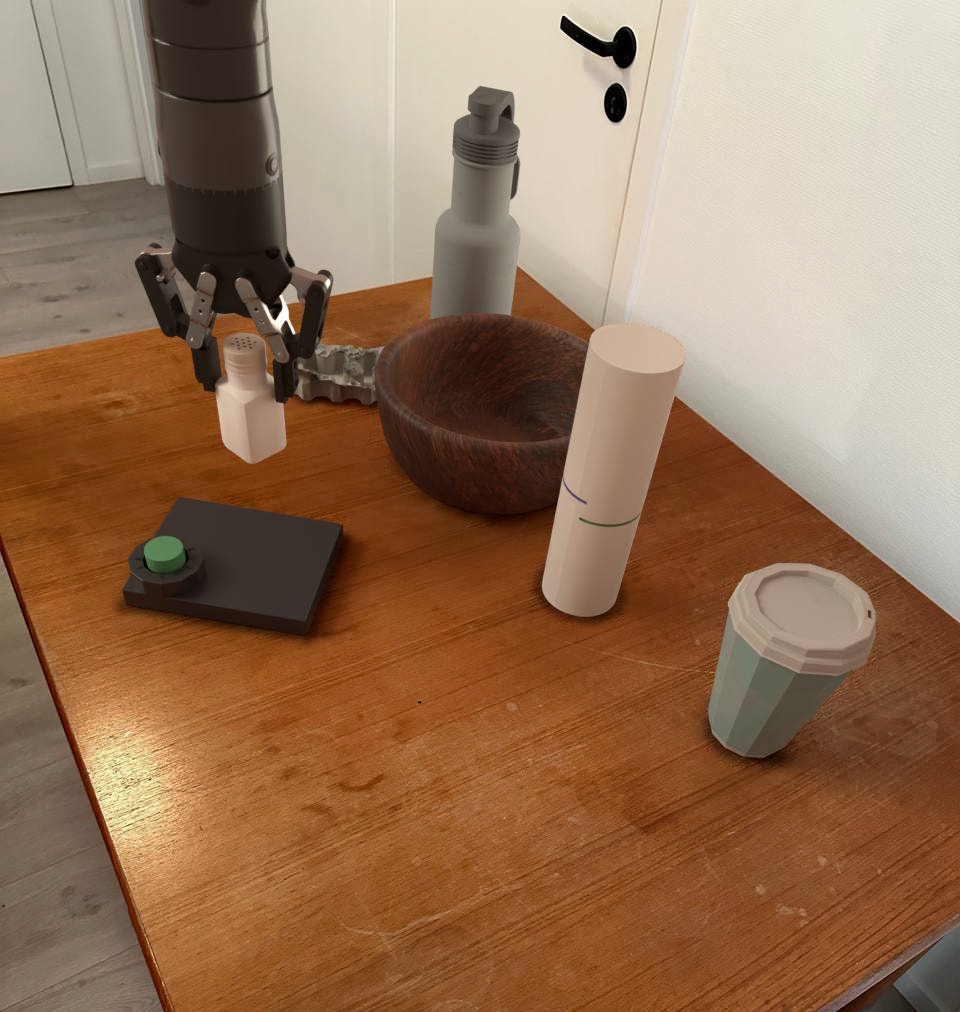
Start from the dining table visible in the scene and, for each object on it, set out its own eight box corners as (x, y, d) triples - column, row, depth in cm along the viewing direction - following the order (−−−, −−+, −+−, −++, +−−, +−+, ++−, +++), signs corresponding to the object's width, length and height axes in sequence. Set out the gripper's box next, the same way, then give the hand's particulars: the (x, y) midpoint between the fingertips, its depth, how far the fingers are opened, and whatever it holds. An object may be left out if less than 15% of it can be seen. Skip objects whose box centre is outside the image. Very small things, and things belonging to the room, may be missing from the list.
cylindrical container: (576, 553, 88) (630, 313, 69) (632, 593, 85) (705, 353, 66) (526, 585, 84) (569, 340, 66) (583, 628, 81) (645, 384, 62)
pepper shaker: (220, 446, 74) (204, 341, 67) (259, 428, 76) (248, 324, 69) (251, 469, 72) (238, 363, 65) (289, 449, 74) (282, 345, 67)
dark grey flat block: (124, 605, 78) (116, 576, 75) (180, 511, 87) (174, 482, 84) (306, 636, 77) (303, 608, 75) (343, 538, 86) (342, 510, 83)
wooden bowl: (595, 554, 88) (616, 469, 80) (346, 509, 89) (344, 420, 81) (612, 414, 105) (631, 333, 97) (403, 377, 106) (406, 294, 98)
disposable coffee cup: (675, 758, 72) (731, 632, 61) (690, 663, 79) (741, 534, 68) (807, 795, 71) (888, 672, 60) (810, 694, 78) (883, 569, 67)
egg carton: (287, 400, 101) (284, 368, 98) (298, 365, 106) (295, 332, 103) (382, 408, 101) (382, 376, 98) (388, 373, 106) (388, 341, 103)
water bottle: (442, 316, 116) (458, 70, 96) (515, 332, 115) (547, 87, 95) (418, 354, 110) (430, 98, 89) (495, 371, 109) (525, 117, 88)
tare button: (141, 570, 76) (137, 557, 75) (155, 546, 79) (152, 533, 77) (177, 577, 76) (174, 563, 75) (191, 552, 78) (188, 539, 77)
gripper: (346, 157, 60) (350, 381, 73) (137, 125, 60) (177, 353, 73) (316, 201, 55) (325, 434, 67) (88, 166, 55) (140, 403, 68)
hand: (248, 391), depth 70 cm, fingers closed on pepper shaker, 5 cm apart
